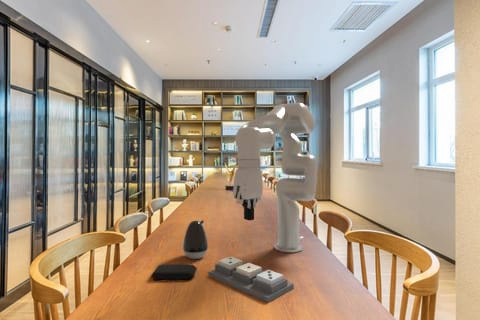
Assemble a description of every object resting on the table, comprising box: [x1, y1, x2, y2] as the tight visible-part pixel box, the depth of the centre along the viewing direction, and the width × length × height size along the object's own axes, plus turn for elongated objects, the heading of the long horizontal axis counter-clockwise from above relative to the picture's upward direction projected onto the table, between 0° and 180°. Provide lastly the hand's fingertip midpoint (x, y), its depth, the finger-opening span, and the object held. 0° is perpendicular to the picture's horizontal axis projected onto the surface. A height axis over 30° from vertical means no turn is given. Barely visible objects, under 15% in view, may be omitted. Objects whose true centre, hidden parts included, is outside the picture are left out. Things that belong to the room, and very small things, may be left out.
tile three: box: [257, 269, 284, 286], centre depth 96 cm, size 6×6×2 cm
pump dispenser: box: [182, 220, 209, 260], centre depth 126 cm, size 10×10×15 cm
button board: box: [208, 262, 295, 303], centre depth 102 cm, size 13×27×4 cm, turn 45°
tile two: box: [218, 256, 243, 269], centre depth 109 cm, size 6×6×2 cm
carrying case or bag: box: [150, 263, 198, 282], centre depth 108 cm, size 11×3×15 cm
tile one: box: [236, 262, 263, 277], centre depth 102 cm, size 6×6×2 cm
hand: (249, 219), depth 102 cm, fingers closed
